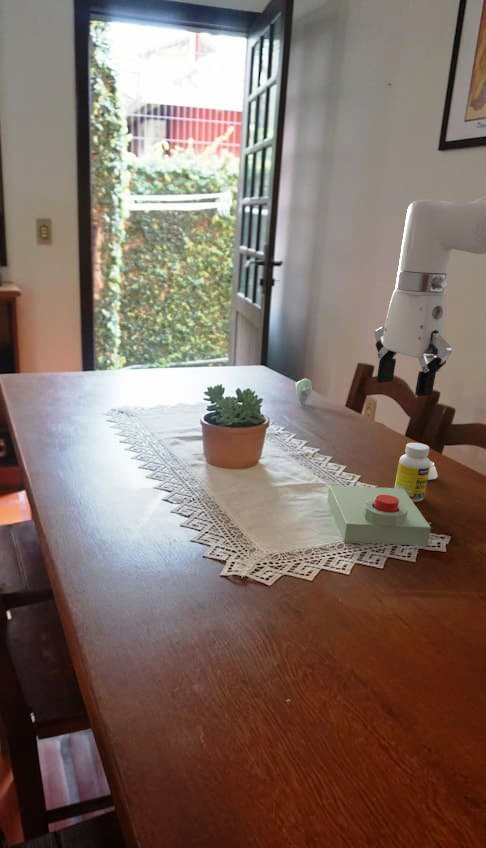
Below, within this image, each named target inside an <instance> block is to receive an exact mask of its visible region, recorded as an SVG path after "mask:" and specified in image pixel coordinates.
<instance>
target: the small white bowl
mask: <svg viewBox="0 0 486 848" xmlns="http://www.w3.org/2000/svg"><path fill="white" fill-rule="evenodd" d="M430 463H431V464H430V470H429V475H428V480H427V481H431V480H436V479H437V478H438V476H439V475H438V472H437V467H436V466H435V462H434V461H431V460H430Z"/></svg>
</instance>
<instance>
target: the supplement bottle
mask: <svg viewBox="0 0 486 848" xmlns="http://www.w3.org/2000/svg"><path fill="white" fill-rule="evenodd" d="M404 451H405V453H404V454H402V455H401V456H400V457H399V461H398V465H397V471H396V477H395V482H394V487H393V488H402V489H404V490H405V492H406V493H407V494H408V496H409V497H410V499H411V500H412V501H413V503H417V502H421V501H423V500H424V499H425V494H426V489H427V485H428V481H429V480H428V475H429V470H430V464H431V463H430V461H431V460H430V459H429V458H428V456H429V454H430V446H429V445H427V444H424V443H421V442H407V444H406V445H405V449H404Z"/></svg>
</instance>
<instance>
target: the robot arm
mask: <svg viewBox="0 0 486 848" xmlns="http://www.w3.org/2000/svg"><path fill="white" fill-rule="evenodd" d="M452 250H454V251H455V250H456V251H461V252H466V253H467V252H468V253H471V254H475V255H486V195H485V196H483V197H480V198H478V199H476V200H473V201H471V202H453V201H450V200H441V199H440V200H439V199H416V200H414V201H412V202H411V203H410V204H409V206H408V208H407V212H406V217H405V224H404V231H403V237H402V243H401V250H400V257H399V265H398V271H397V276H396V283H395V289H393V293H392V295H391V299H390V302H389V306H388V309H387V313H386V318H385V323H384V325H383V326H381V327H379V328H377V329H375V330H374V338H375V348H376V350H377V358H378V359H379V361H378V366H377V367H378V369H377V374H376V382H377V383H380V384H381V383H392V382H393V381H394V375H395V369H396V363H397V358H394V357H395V356H396V355H397V354H400V355H403V356H407V357H411V358H415V359H418V363H419V365H420V368H421V371H418V374H417V379H416V386H415V390H414V391H415V393H414V394H415V396H417V397H425V396H432V394H433V391H434V387H435V386H434V385H435V380H436V374H437V373H438V372H440V371H441V368H442V367H443V366H444V365H446V363H447V360H448V359H449V357H450V355H451V354H452V352H453V348H452V346H451V345H450V344H449V343H448V342H447V341H446V340H445V338H446V329H447V320H448V319H447V318H448V300H447V299H448V298H447V295H445V294H444V292H445V289H446V288H447V287H448V284H449V282H448V280H447V275H448V270H449V265H450V259H451V253H452Z"/></svg>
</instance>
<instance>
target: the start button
mask: <svg viewBox="0 0 486 848" xmlns="http://www.w3.org/2000/svg"><path fill="white" fill-rule="evenodd" d="M398 504H399V499H398V498H396V497H394V496H390V495H378V496H376V497H375V503H374V508H375V509H376V510H378V511H382V512H390V513H393V512H397V510H398Z"/></svg>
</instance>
